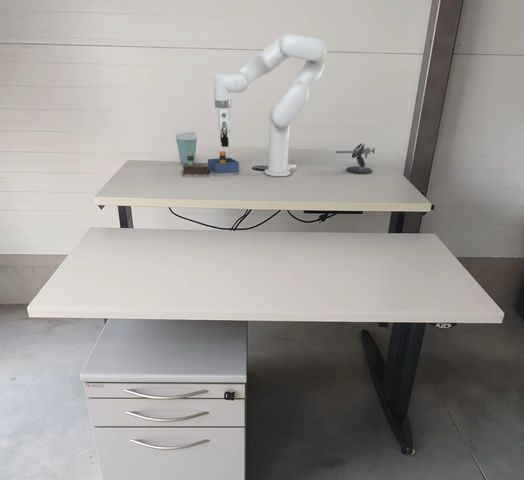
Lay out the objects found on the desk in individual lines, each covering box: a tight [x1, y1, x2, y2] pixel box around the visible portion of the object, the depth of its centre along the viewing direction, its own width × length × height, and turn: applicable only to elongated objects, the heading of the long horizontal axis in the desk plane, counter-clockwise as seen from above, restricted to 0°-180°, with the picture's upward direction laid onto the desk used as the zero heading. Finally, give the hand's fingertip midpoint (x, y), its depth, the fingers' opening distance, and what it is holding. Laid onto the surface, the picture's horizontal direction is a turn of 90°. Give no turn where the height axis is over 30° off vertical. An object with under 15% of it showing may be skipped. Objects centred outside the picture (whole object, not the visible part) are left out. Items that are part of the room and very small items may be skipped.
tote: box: [207, 157, 240, 175], centre depth 241 cm, size 12×10×6 cm
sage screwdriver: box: [187, 152, 194, 165], centre depth 234 cm, size 3×3×9 cm
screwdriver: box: [219, 150, 227, 163], centre depth 240 cm, size 3×3×9 cm
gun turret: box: [335, 143, 376, 175], centre depth 250 cm, size 13×20×13 cm, turn 102°
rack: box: [182, 162, 209, 175], centre depth 236 cm, size 7×11×4 cm, turn 96°
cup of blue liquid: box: [175, 131, 198, 165], centre depth 249 cm, size 11×11×15 cm
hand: (224, 144), depth 235 cm, fingers open, 9 cm apart
